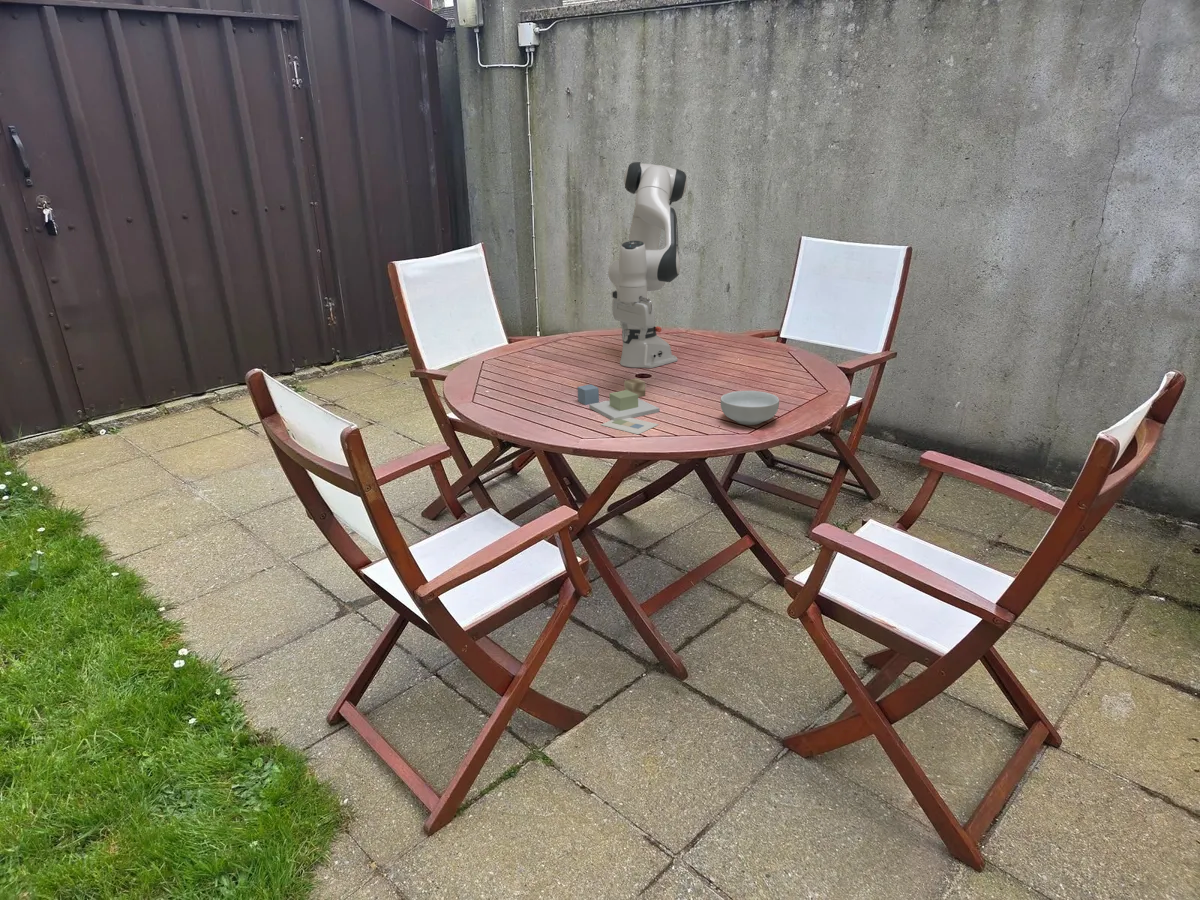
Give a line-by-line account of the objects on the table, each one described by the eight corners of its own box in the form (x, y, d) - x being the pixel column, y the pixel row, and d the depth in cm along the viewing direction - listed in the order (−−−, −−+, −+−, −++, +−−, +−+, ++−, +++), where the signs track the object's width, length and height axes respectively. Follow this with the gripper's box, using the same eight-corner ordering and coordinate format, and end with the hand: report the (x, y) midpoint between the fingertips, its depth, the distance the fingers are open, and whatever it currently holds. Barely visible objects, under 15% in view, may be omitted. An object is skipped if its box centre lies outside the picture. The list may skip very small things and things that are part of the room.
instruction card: (621, 416, 228) (621, 415, 228) (658, 424, 220) (658, 424, 220) (600, 425, 221) (600, 424, 221) (638, 434, 213) (638, 433, 213)
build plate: (632, 399, 244) (631, 383, 242) (659, 411, 231) (659, 395, 229) (589, 408, 237) (588, 392, 235) (615, 421, 224) (614, 405, 222)
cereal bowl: (788, 418, 221) (789, 396, 218) (759, 434, 210) (760, 410, 207) (739, 408, 232) (740, 386, 229) (708, 422, 220) (709, 399, 218)
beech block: (637, 392, 251) (637, 378, 249) (645, 396, 247) (645, 381, 245) (624, 395, 249) (624, 380, 247) (632, 398, 245) (632, 384, 243)
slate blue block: (591, 398, 246) (590, 384, 244) (598, 402, 242) (598, 387, 240) (578, 401, 244) (577, 386, 242) (585, 405, 240) (584, 390, 238)
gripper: (660, 297, 229) (660, 342, 234) (625, 289, 245) (625, 331, 250) (642, 300, 226) (643, 345, 231) (608, 291, 242) (609, 333, 247)
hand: (633, 337), depth 241 cm, fingers open, 8 cm apart
